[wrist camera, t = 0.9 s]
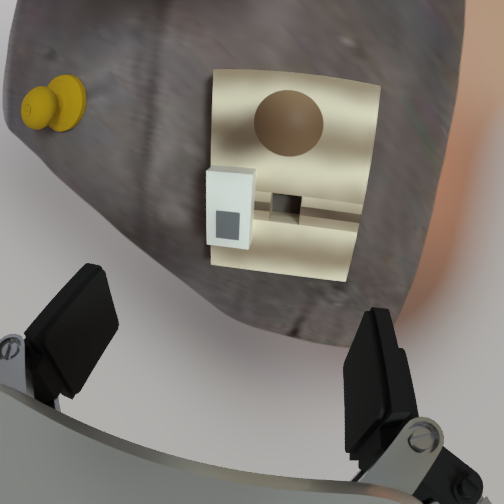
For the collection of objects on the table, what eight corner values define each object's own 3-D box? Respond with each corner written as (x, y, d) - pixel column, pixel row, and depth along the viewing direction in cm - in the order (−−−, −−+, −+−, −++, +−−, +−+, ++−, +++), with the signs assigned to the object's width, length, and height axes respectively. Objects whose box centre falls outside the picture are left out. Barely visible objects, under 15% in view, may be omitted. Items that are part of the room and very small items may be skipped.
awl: (274, 90, 26) (255, 87, 16) (317, 95, 26) (326, 94, 15) (271, 130, 28) (252, 153, 18) (313, 135, 28) (319, 160, 17)
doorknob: (49, 76, 30) (89, 73, 30) (45, 128, 34) (84, 131, 34) (10, 80, 23) (50, 75, 23) (9, 141, 27) (47, 144, 27)
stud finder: (213, 165, 31) (205, 171, 28) (256, 168, 30) (252, 174, 28) (212, 234, 35) (206, 244, 32) (252, 239, 34) (248, 250, 32)
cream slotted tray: (221, 71, 28) (213, 69, 26) (373, 86, 26) (380, 86, 24) (217, 252, 39) (210, 264, 37) (343, 268, 37) (345, 281, 35)
